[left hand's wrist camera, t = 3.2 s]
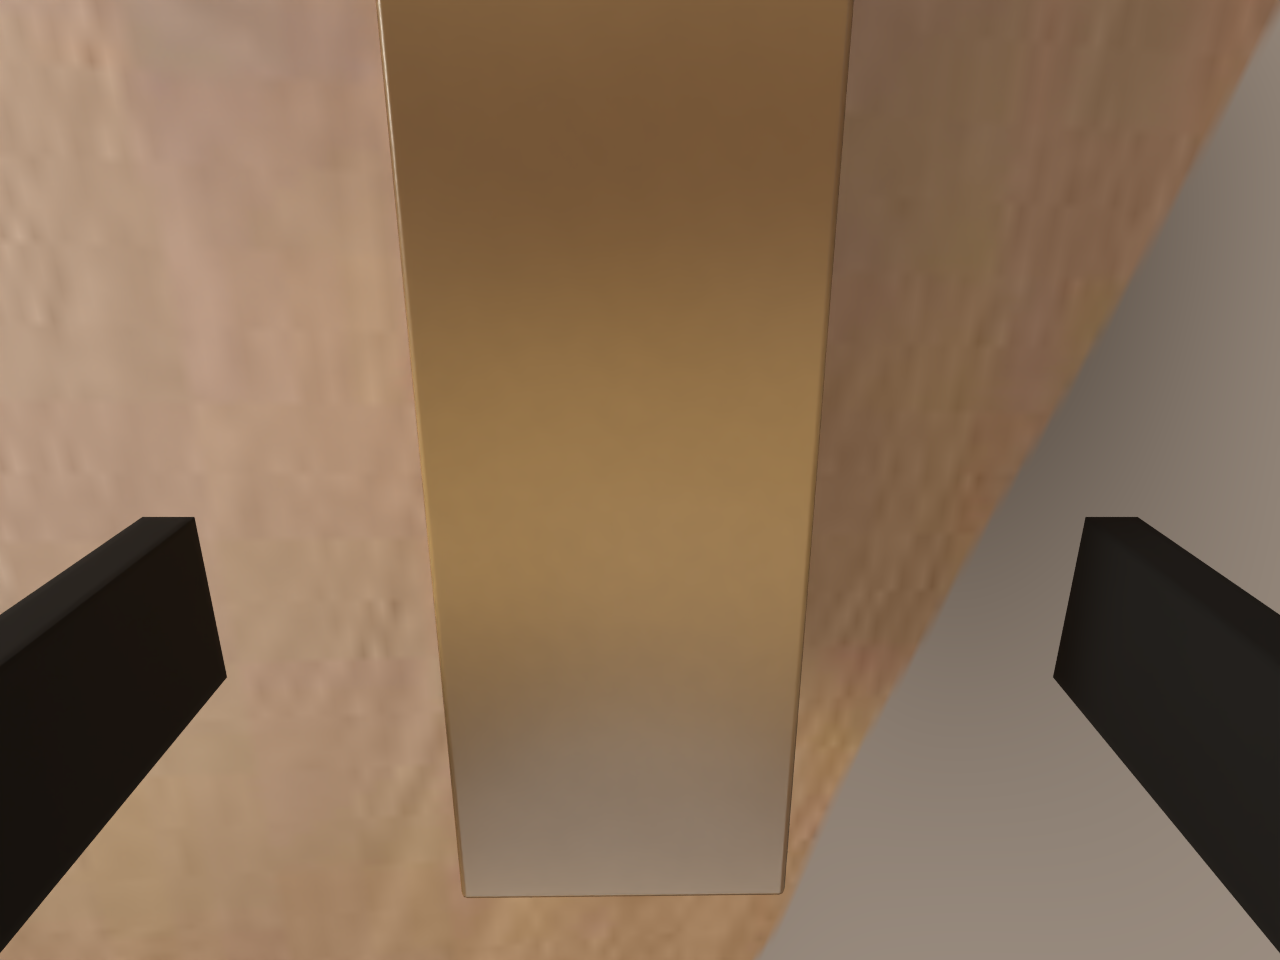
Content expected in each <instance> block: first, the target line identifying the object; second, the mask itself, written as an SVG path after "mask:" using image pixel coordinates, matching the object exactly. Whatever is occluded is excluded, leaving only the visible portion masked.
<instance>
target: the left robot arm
mask: <svg viewBox="0 0 1280 960" xmlns="http://www.w3.org/2000/svg"><path fill="white" fill-rule="evenodd" d="M226 678H227V675H226V670H225V665H224V661H223V656H222V651H221V646H220V641H219V636H218V631H217V626H216V621H215V616H214V611H213V606H212V601H211V597H210V592H209V587H208V582H207V577H206V572H205V567H204V562H203V557H202V552H201V547H200V542H199V537H198V533H197V528H196V523H195V518H194V517H142V518H140V519H139V520H137V521H136V522H135V523H133V524H132V525H130V526H129V527H127V528H126V529H124V530H123V531H121V532H120V533H119V534H117V535H116V536H114V537H113V538H111V539H110V540H108V541H107V542H105V543H104V544H103V545H101V546H100V547H98V548H97V549H95V550H94V551H92V552H91V553H89V554H88V555H87V556H85V557H84V558H82V559H81V560H79V561H78V562H76V563H75V564H73V565H72V566H71V567H69V568H68V569H66V570H65V571H63V572H62V573H60V574H59V575H57V576H56V577H55V578H53V579H52V580H50V581H49V582H47V583H46V584H44V585H43V586H41V587H40V588H39V589H37V590H36V591H34V592H33V593H31V594H30V595H28V596H27V597H26V598H24V599H23V600H21V601H20V602H18V603H17V604H15V605H14V606H12V607H11V608H10V609H8V610H7V611H5V612H4V613H2V614H1V615H0V952H1V951H2V950H3V949H4V948H5V946H6V945H7V944H8V943H9V942H10V940H11V939H12V938H13V937H14V935H15V934H16V933H17V932H18V931H19V929H20V928H21V927H22V926H23V925H24V923H25V922H26V921H27V920H28V918H29V917H30V916H31V915H32V914H33V912H34V911H35V910H36V909H37V907H38V906H39V905H40V904H41V903H42V901H43V900H44V899H45V898H46V897H47V895H48V894H49V893H50V892H51V890H52V889H53V888H54V887H55V886H56V884H57V883H58V882H59V881H60V880H61V878H62V877H63V876H64V875H65V873H66V872H67V871H68V870H69V869H70V867H71V866H72V865H73V864H74V863H75V861H76V860H77V859H78V858H79V856H80V855H81V854H82V853H83V852H84V850H85V849H86V848H87V847H88V845H89V844H90V843H91V842H92V841H93V839H94V838H95V837H96V836H97V835H98V833H99V832H100V831H101V830H102V828H103V827H104V826H105V825H106V824H107V822H108V821H109V820H110V819H111V818H112V816H113V815H114V814H115V813H116V811H117V810H118V809H119V808H120V807H121V805H122V804H123V803H124V802H125V800H126V799H127V798H128V797H129V796H130V794H131V793H132V792H133V791H134V790H135V788H136V787H137V786H138V785H139V783H140V782H141V781H142V780H143V779H144V777H145V776H146V775H147V774H148V773H149V771H150V770H151V769H152V768H153V766H154V765H155V764H156V763H157V762H158V760H159V759H160V758H161V757H162V755H163V754H164V753H165V752H166V751H167V749H168V748H169V747H170V746H171V745H172V743H173V742H174V741H175V740H176V738H177V737H178V736H179V735H180V734H181V732H182V731H183V730H184V729H185V728H186V726H187V725H188V724H189V723H190V721H191V720H192V719H193V718H194V717H195V715H196V714H197V713H198V712H199V710H200V709H201V708H202V707H203V706H204V704H205V703H206V702H207V701H208V700H209V698H210V697H211V696H212V695H213V693H214V692H215V691H216V690H217V689H218V687H219V686H220V685H221V684H222V683H223V681H224V680H225V679H226ZM1053 678H1054V679H1055V680H1056V681H1057V683H1058V684H1059V685H1060V686H1061V687H1062V689H1063V690H1064V691H1065V692H1066V693H1067V695H1068V696H1069V697H1070V698H1071V700H1072V701H1073V702H1074V703H1075V704H1076V706H1077V707H1078V708H1079V709H1080V710H1081V712H1082V713H1083V714H1084V715H1085V717H1086V718H1087V719H1088V720H1089V721H1090V723H1091V724H1092V725H1093V726H1094V728H1095V729H1096V730H1097V731H1098V732H1099V734H1100V735H1101V736H1102V737H1103V738H1104V740H1105V741H1106V742H1107V743H1108V744H1109V746H1110V747H1111V748H1112V749H1113V751H1114V752H1115V753H1116V754H1117V755H1118V757H1119V758H1120V759H1121V760H1122V762H1123V763H1124V764H1125V765H1126V766H1127V768H1128V769H1129V770H1130V771H1131V773H1132V774H1133V775H1134V776H1135V777H1136V779H1137V780H1138V781H1139V782H1140V783H1141V785H1142V786H1143V787H1144V788H1145V790H1146V791H1147V792H1148V793H1149V794H1150V796H1151V797H1152V798H1153V799H1154V800H1155V802H1156V803H1157V804H1158V805H1159V807H1160V808H1161V809H1162V810H1163V811H1164V813H1165V814H1166V815H1167V816H1168V818H1169V819H1170V820H1171V821H1172V822H1173V824H1174V825H1175V826H1176V827H1177V828H1178V830H1179V831H1180V832H1181V833H1182V834H1183V836H1184V837H1185V838H1186V839H1187V841H1188V842H1189V843H1190V844H1191V845H1192V847H1193V848H1194V849H1195V850H1196V852H1197V853H1198V854H1199V855H1200V856H1201V858H1202V859H1203V860H1204V861H1205V862H1206V864H1207V865H1208V866H1209V867H1210V869H1211V870H1212V871H1213V872H1214V873H1215V875H1216V876H1217V877H1218V878H1219V880H1220V881H1221V882H1222V883H1223V884H1224V886H1225V887H1226V888H1227V889H1228V890H1229V892H1230V893H1231V894H1232V895H1233V897H1234V898H1235V899H1236V900H1237V901H1238V903H1239V904H1240V905H1241V906H1242V907H1243V909H1244V910H1245V911H1246V912H1247V914H1248V915H1249V916H1250V917H1251V918H1252V920H1253V921H1254V922H1255V923H1256V925H1257V926H1258V927H1259V928H1260V929H1261V931H1262V932H1263V933H1264V934H1265V935H1266V937H1267V938H1268V939H1269V940H1270V942H1271V943H1272V944H1273V945H1274V946H1275V948H1276V949H1277V950H1278V951H1279V952H1280V615H1279V614H1278V613H1276V612H1275V611H1273V610H1272V609H1270V608H1269V607H1268V606H1266V605H1265V604H1263V603H1262V602H1260V601H1259V600H1257V599H1256V598H1254V597H1253V596H1251V595H1250V594H1249V593H1247V592H1246V591H1244V590H1243V589H1241V588H1240V587H1239V586H1237V585H1236V584H1234V583H1233V582H1231V581H1230V580H1228V579H1227V578H1225V577H1224V576H1223V575H1221V574H1220V573H1218V572H1217V571H1215V570H1214V569H1212V568H1211V567H1209V566H1208V565H1206V564H1205V563H1204V562H1202V561H1201V560H1199V559H1198V558H1196V557H1195V556H1193V555H1192V554H1190V553H1189V552H1188V551H1186V550H1185V549H1183V548H1182V547H1180V546H1179V545H1177V544H1176V543H1175V542H1173V541H1172V540H1170V539H1169V538H1167V537H1166V536H1164V535H1163V534H1161V533H1160V532H1158V531H1157V530H1156V529H1154V528H1153V527H1151V526H1150V525H1148V524H1147V523H1145V522H1144V521H1143V520H1141V519H1140V518H1138V517H1086V518H1085V523H1084V528H1083V533H1082V538H1081V542H1080V547H1079V552H1078V557H1077V562H1076V567H1075V572H1074V577H1073V582H1072V587H1071V592H1070V597H1069V601H1068V606H1067V611H1066V616H1065V621H1064V626H1063V631H1062V636H1061V641H1060V646H1059V651H1058V656H1057V661H1056V665H1055V670H1054V675H1053Z"/></svg>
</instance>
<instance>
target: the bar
mask: <svg viewBox="0 0 1280 960" xmlns="http://www.w3.org/2000/svg"><path fill="white" fill-rule="evenodd" d="M853 2H854V0H376V8H377V18H378V29H379V39H380V49H381V60H382V70H383V81H384V91H385V101H386V112H387V122H388V132H389V143H390V153H391V163H392V174H393V184H394V195H395V205H396V215H397V226H398V236H399V246H400V257H401V267H402V277H403V288H404V298H405V309H406V319H407V329H408V340H409V350H410V360H411V371H412V381H413V391H414V402H415V412H416V423H417V433H418V443H419V454H420V464H421V474H422V485H423V495H424V506H425V516H426V526H427V537H428V547H429V557H430V568H431V578H432V588H433V599H434V609H435V620H436V630H437V640H438V651H439V661H440V671H441V682H442V692H443V702H444V713H445V723H446V734H447V744H448V754H449V765H450V775H451V785H452V796H453V806H454V816H455V827H456V837H457V848H458V858H459V868H460V879H461V889H462V894H463V896H464V897H466V898H504V897H593V896H682V895H771V894H781V893H783V891H784V887H785V875H786V862H787V849H788V836H789V823H790V810H791V798H792V785H793V772H794V759H795V746H796V733H797V721H798V708H799V695H800V682H801V669H802V656H803V644H804V631H805V618H806V605H807V592H808V580H809V567H810V554H811V541H812V528H813V515H814V503H815V490H816V477H817V464H818V451H819V438H820V426H821V413H822V400H823V387H824V374H825V362H826V349H827V336H828V323H829V310H830V297H831V285H832V272H833V259H834V246H835V233H836V220H837V208H838V195H839V182H840V169H841V156H842V143H843V131H844V118H845V105H846V92H847V79H848V67H849V54H850V41H851V28H852V15H853Z"/></svg>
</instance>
